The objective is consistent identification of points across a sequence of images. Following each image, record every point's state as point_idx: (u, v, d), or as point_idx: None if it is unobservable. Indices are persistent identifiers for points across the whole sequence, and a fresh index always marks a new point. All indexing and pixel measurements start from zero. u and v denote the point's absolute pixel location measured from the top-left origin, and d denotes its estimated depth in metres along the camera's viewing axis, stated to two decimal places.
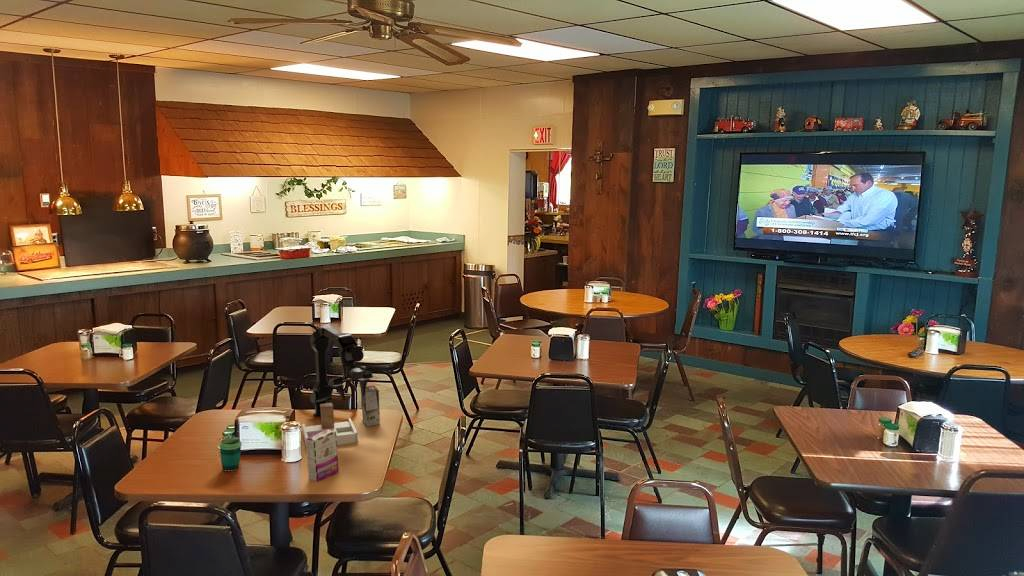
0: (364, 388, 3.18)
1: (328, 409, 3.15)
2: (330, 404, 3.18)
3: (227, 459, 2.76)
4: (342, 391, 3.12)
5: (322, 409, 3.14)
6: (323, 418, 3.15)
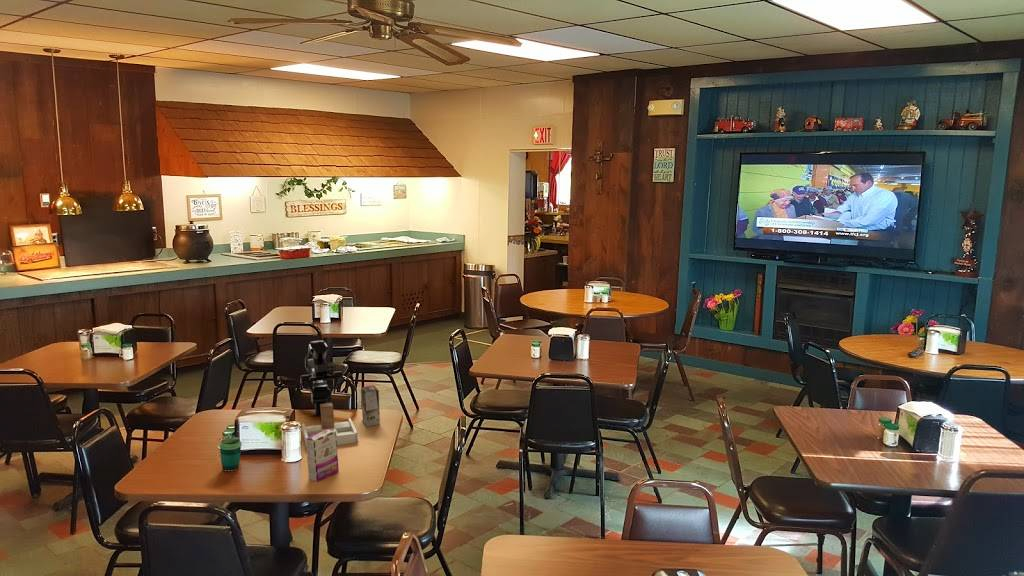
0: (334, 386, 3.30)
1: (328, 409, 3.15)
2: (330, 404, 3.18)
3: (227, 459, 2.76)
4: (310, 387, 3.27)
5: (322, 409, 3.14)
6: (323, 418, 3.15)
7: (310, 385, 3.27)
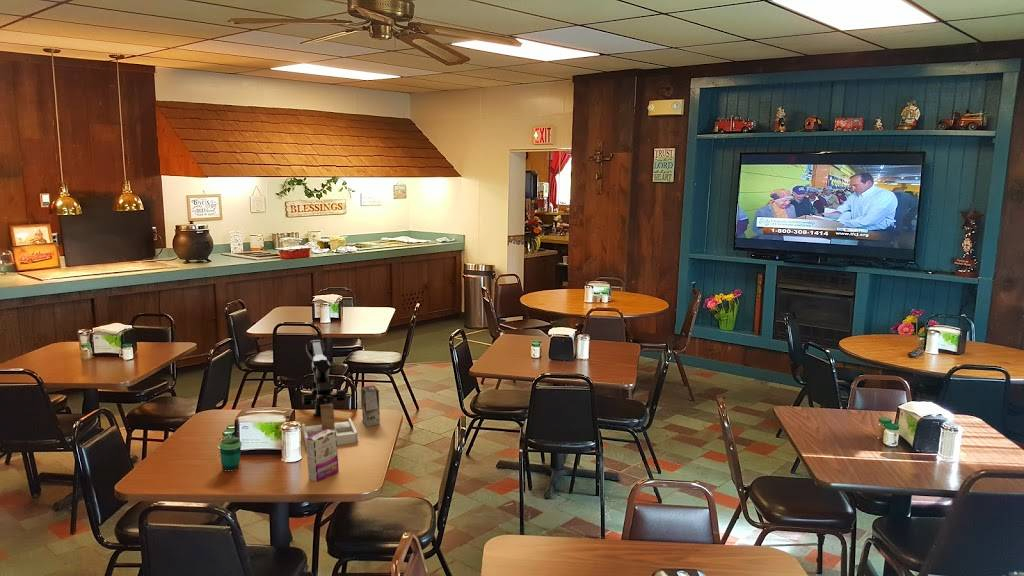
0: None
1: (328, 410, 3.14)
2: (330, 405, 3.17)
3: (227, 459, 2.76)
4: None
5: (322, 410, 3.13)
6: (323, 419, 3.14)
7: (322, 403, 3.20)
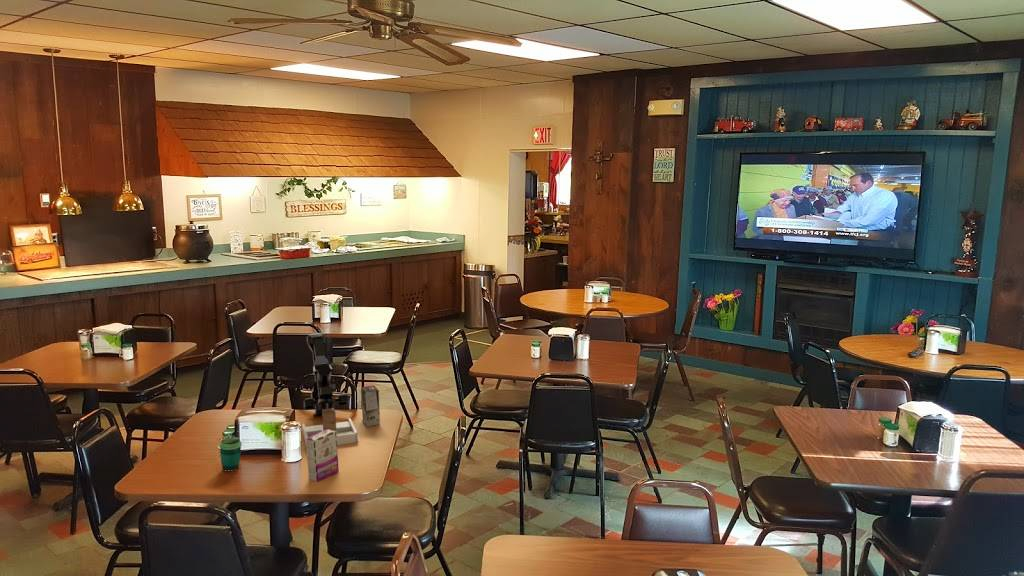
0: None
1: (330, 415, 3.07)
2: (332, 409, 3.10)
3: (227, 459, 2.76)
4: None
5: (324, 415, 3.06)
6: (325, 424, 3.07)
7: (324, 408, 3.14)
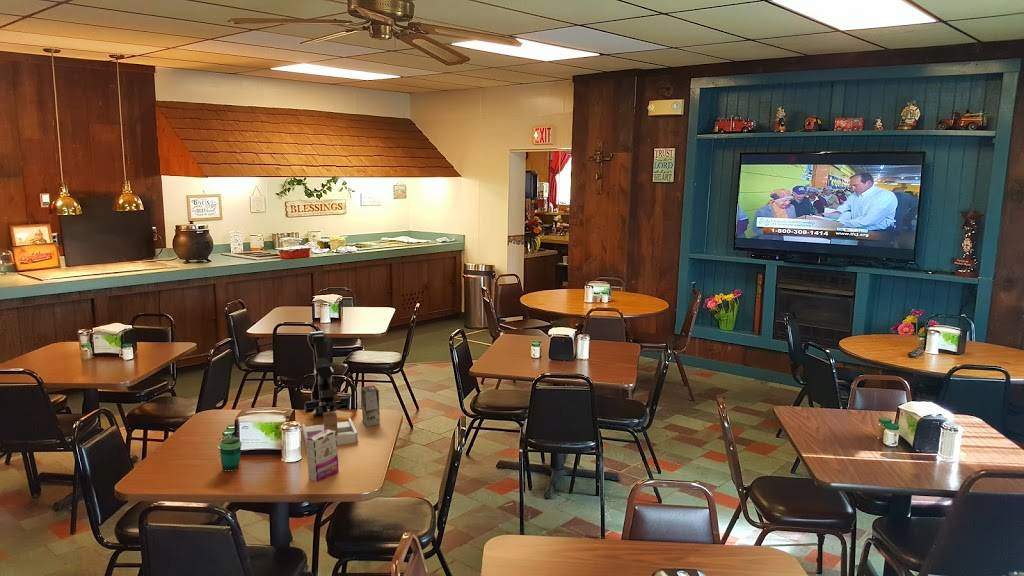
0: None
1: (331, 418, 3.03)
2: (333, 413, 3.06)
3: (227, 459, 2.76)
4: None
5: (325, 418, 3.03)
6: (326, 427, 3.03)
7: (325, 411, 3.10)
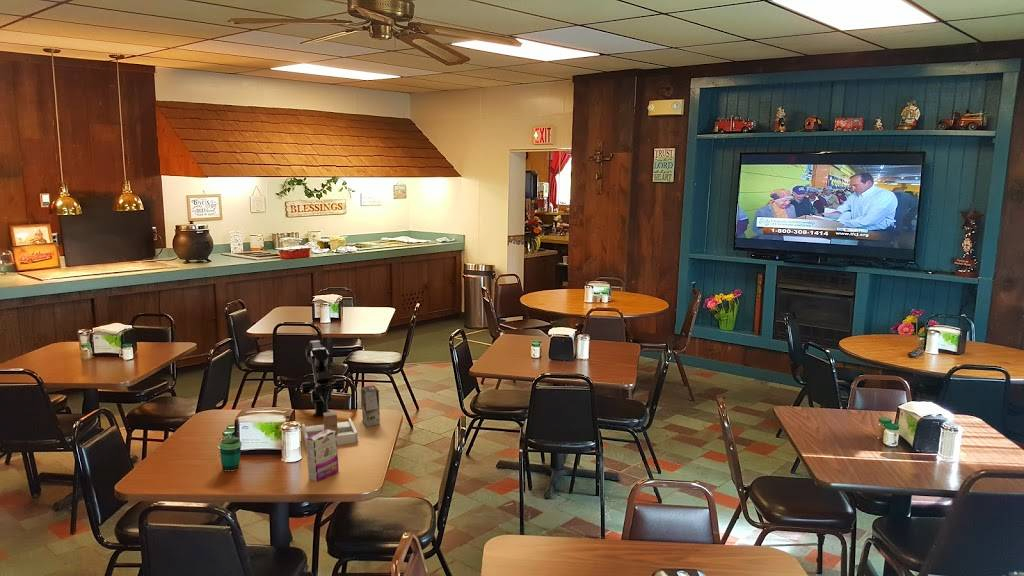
0: (326, 395, 3.23)
1: (331, 418, 3.03)
2: (333, 413, 3.06)
3: (227, 459, 2.76)
4: (322, 393, 3.22)
5: (325, 418, 3.02)
6: (326, 427, 3.03)
7: (321, 392, 3.23)
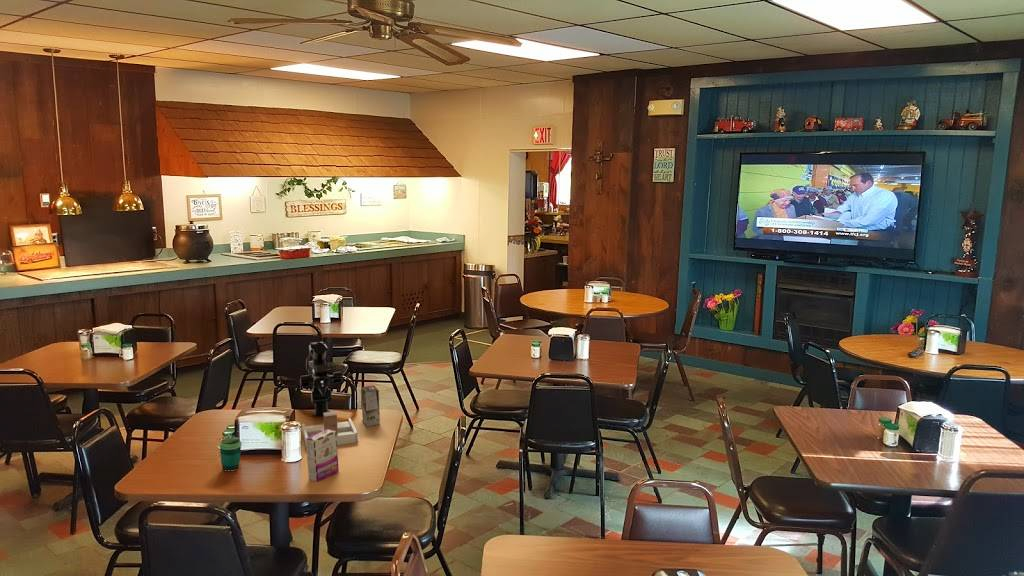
0: (324, 387, 3.29)
1: (331, 418, 3.03)
2: (333, 413, 3.06)
3: (227, 459, 2.76)
4: (320, 386, 3.28)
5: (325, 418, 3.02)
6: (326, 427, 3.03)
7: (319, 384, 3.29)
